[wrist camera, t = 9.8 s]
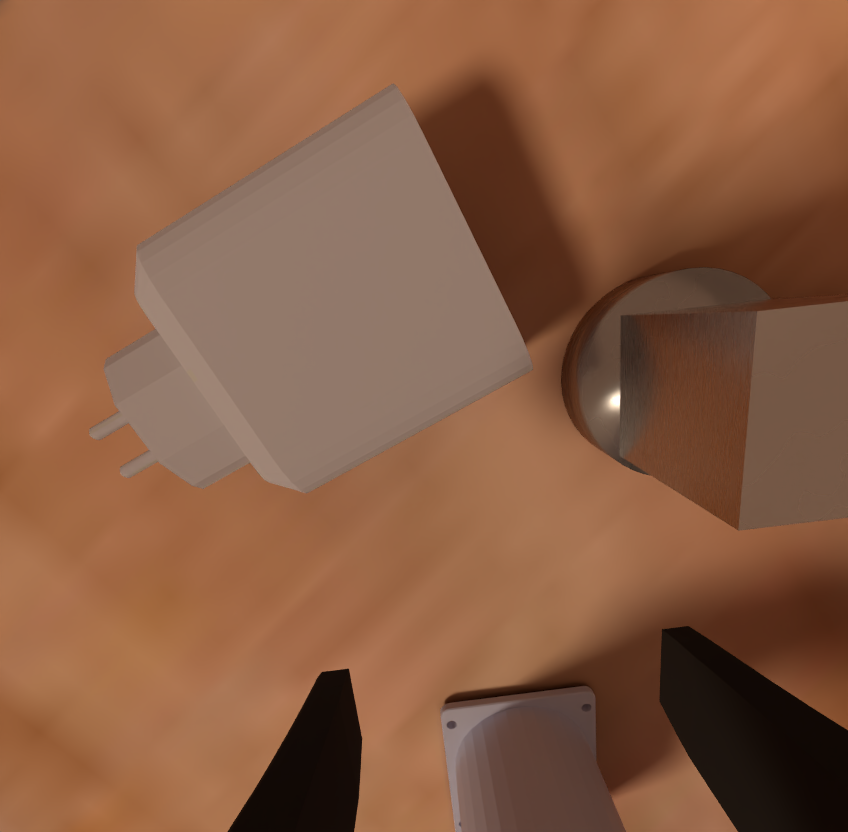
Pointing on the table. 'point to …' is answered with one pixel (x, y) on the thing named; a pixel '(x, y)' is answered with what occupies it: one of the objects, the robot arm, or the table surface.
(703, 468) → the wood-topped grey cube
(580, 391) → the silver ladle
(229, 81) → the table surface
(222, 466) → the charger
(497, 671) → the table surface
